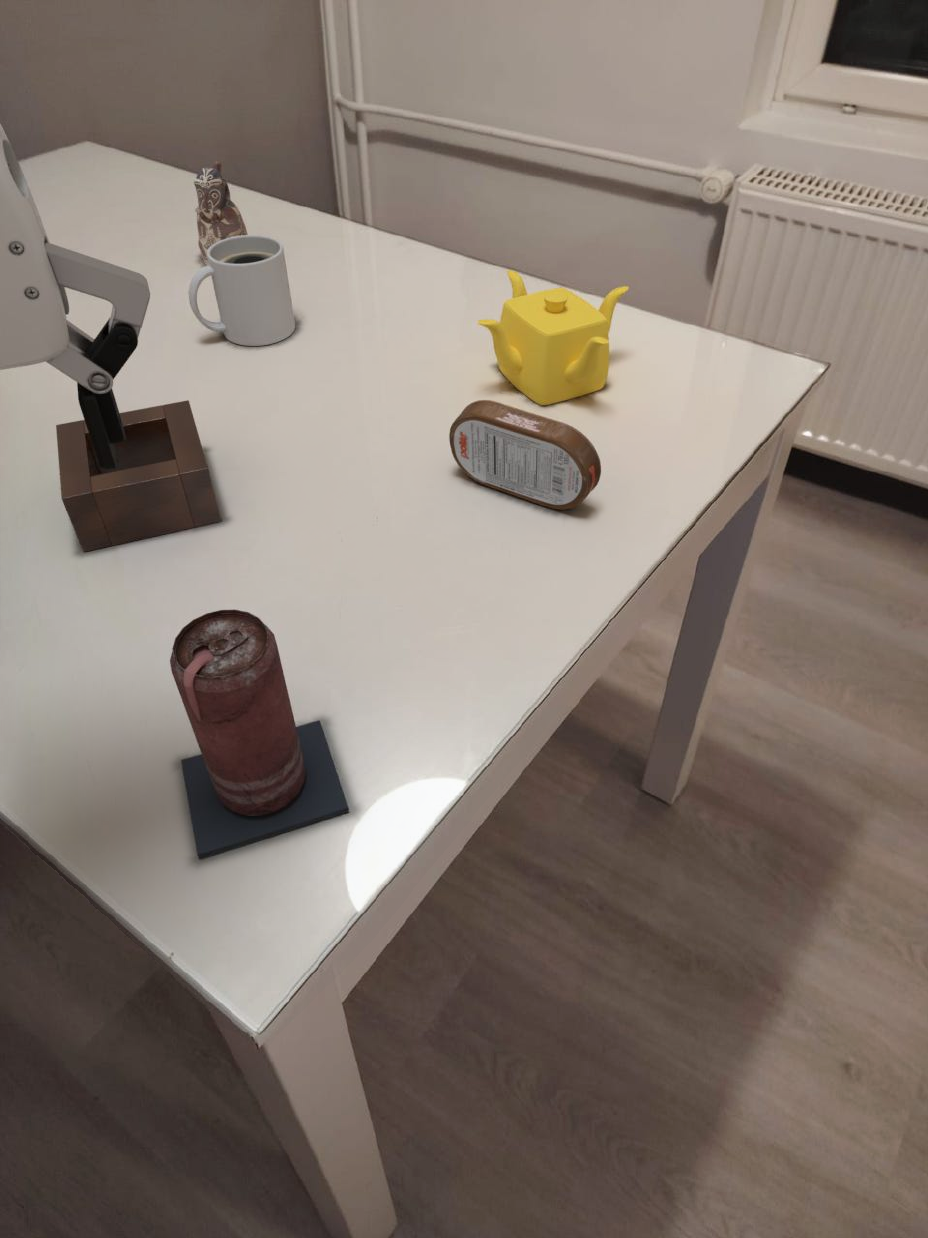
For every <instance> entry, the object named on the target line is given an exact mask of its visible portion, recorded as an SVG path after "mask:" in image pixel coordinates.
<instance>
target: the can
mask: <svg viewBox="0 0 928 1238" xmlns="http://www.w3.org/2000/svg"><path fill="white" fill-rule="evenodd" d="M171 650H172V651H171V655H170V658H169V665H170V670H171V674H172V677H173V680H174V682H175V685H176V688H177V691H178V693H179V696H180V699H181V701H182V705H183V708H184V710H185V712H186V715H187V717H188V720H189V723H190V726H191V729H192V731H193V734H194V738H195V740H196V743H197V745H198V747H199V748H198V749H199V750H200V753H201V754H202V756H203V759H204V762H205V764H206V767H207V770H208V773H209V775H210V778H211V781H212V784H213V786H214V789H215V792H216V794H217V796H218V798H219V799H220V801H221V802H222V804H223V805H224V806H225V807H227V808H228V809H230V810H231V811H233V812H235V813H239V814H243V815H247V816H263V815H267V814H270V813H273V812H276V811H278V810H280V809H281V808H283V807H284V806H286V805H288V804H289V803H290V801H291V800H292V799H293V798H294V797H295V796H296V795H297V794H298V793H299V791H300V789H301V787H302V785H303V783H304V781H305V772H306V769H305V764H304V760H303V755H302V751H301V747H300V742H299V738H298V734H297V729H296V727H297V726H296V721H295V718H294V717H295V716H294V713H293V708H292V704H291V700H290V695H289V690H288V686H287V682H286V677H285V673H284V669H283V665H282V660H281V656H280V652H279V648H278V643H277V640H276V636H275V634H274V633H273V631H272V630H271V629H270V628H269V627H268V626H267V625H266V624H265V623H264V622H263V621H262V619H261V618H260V617H259V616H256V614H255V615H254V614H253V613H251V612H249V611H244V610H239V609H219V610H215V611H211V612H207V613H204V614H202V615H200V616H198V617H196V618H193V619H192V620H191V621H189V622H188V623H187V624H186V625H185V626H183V627H182V628H181V630H180V631H179V632H178V634H177V635H176V636H175V638H174V641H173V645H172V649H171Z"/></svg>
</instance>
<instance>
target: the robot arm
mask: <svg viewBox="0 0 928 1238" xmlns="http://www.w3.org/2000/svg"><path fill="white" fill-rule="evenodd" d="M45 229H46V228H45V226H44V224H43V220H42V218H41V216H40V213H39V210H38V208H37V205H36V202H35V200H34V197H33V195H32V192H31V190H30V187H29V184H28V182H27V179H26V177H25V175H24V172H23V170H22V167H21V165H20V163H19V161H18V157H17V155H16V153H15V152H14V149H13V147H12V144H11V142H10V141H9V138H8V136H7V134H6V132H5V130H4V127H3V126H2V124H1V122H0V371H2V370H9V369H15V368H23V367H28V366H33V365H37V364H42V363H45V362H46V363H47V364H49V365H50V366H51V367H53V368H55V370H58V371H59V372H61V373H62V374H64V375H66V376H67V377H69V378H70V379H71V380H73V381H74V382H76V387H77V388H76V389H77V399H78V405H79V407H80V411H81V414H82V416H83V421H84V420H85V423H86V426H87V429H88V432H89V435H90V438H91V441H92V444H93V447H94V450H95V453H96V456H97V459H98V462H99V465H100V468H104V467H105V470H109V469H115V468H117V466H116V457H115V449H114V443H120V442H126V438H125V432H124V428H123V424H122V420H121V417H120V413H121V412H120V410H119V407H118V404H117V400H116V396H115V394H114V390H113V387H114V379H115V378H116V377H117V376H118V374H119V373H120V371H121V370H122V368H123V367H124V366H125V365H126V363H127V362H128V360H129V359H130V357H131V356H132V355H133V353H134V352H135V351H136V349H137V347H138V345H139V340H138V339H139V336H140V332H141V330H142V328H143V324H144V321H145V318H146V314H147V310H148V307H149V303H150V299H151V291H150V287H149V283H148V279H147V278H146V277H145V276H144V274H141V273H140V272H136V271H134V270H132V269H131V270H130V269H127V268H126V267H125V268H124V267H122V266H119V265H116V264H113V263H110V262H107V261H105V260H104V261H103V260H101V259H98V258H95V257H93V256H89V255H86V254H83V253H80V252H77V251H74V250H72V249H68V248H66V247H63V246H59V245H57V244H54V243H51V242H50V240H49V237H48V235H47V232H46V230H45ZM66 288H67V289H70V290H72V291H75V292H79V293H82V294H86V295H89V296H92V297H94V298H98V299H101V300H105V301H106V302H109V303H110V304H111V305H112V308H111V313H110V316H109V318H108V319H107V321H106V322H105V324H104V325H103V326H102V328H101V329H100V330H99V332H98V333H97V335H96V336H95V338H93V337H92V336H91V335H89V334H88V333H86V332H85V331H83V330H82V329H80V328H79V327H77V326H76V325H75V324H74V323H72V322H70V321H69V320H68V319H67V316H68V315H69V314H70V305H69V299H68V296H67V291H66Z"/></svg>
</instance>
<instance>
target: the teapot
mask: <svg viewBox="0 0 928 1238" xmlns="http://www.w3.org/2000/svg"><path fill="white" fill-rule="evenodd" d="M506 272H507V276H508V278H509V281H510V284H511V289H512V290H511V292H512V298H509V299H506V300H505V301H504V302H503V305H502V309H501V314H500V319H499V321H498V320H495V319H492V318H491V319H490V318H489V319H488V318H487V319H480V320H478V321H476V322H477V324H478V325H480V326H482V327H484V328H487V329H488V331H489V332H490V334H491V337H492V343H493V351H494V354H495V357H496V361H497V366H498V369H499V370H500V372H501V373H502V374H503V375H504V377H505V378H506V380H508V381H509V382H510V383H511V384H512V385H513V386H514V387H515V388H516V389H517V390H518V391H520V392H521V393H522V394H523V395H524V396H526V397H527V398H528V399H530V400H531V401H533V402H534V403H536V404H538V405H540V406H550V405H552V404H556V403H560V402H564V401H567V400H571V399H574V398H578V397H582V396H584V395H589V394H591V393H595V392H598V391H600V390H602V389H604V387H605V384H606V381H607V379H608V376H609V366H610V337H609V333H610V330H611V325H612V320H613V315H614V311H615V308H616V306H617V303H618V301H619V300H620V299H621V297H622V296H623V295H625V294H626V292H628V290H629V289H630V288H629V286H625V285H624V286H620V287H616V288H614V289H612V290H611V291H610V292H609V293H607V295H606V296H605V297H604V299H603V300H602V302H601V304H600V305H599V308H598V309H597V308H596V307H595V306H593V305H592V304H591V303H590V302H588V301H587V300H585V299H584V298H583V297H581V296H579V295H578V294H576V293H574V292H573V291H571V290H569V289H567V288H564V287H562V286H561V287H556V288H550V289H546V290H542V291H537V292H533V293H528V292H527V288H526V286H525V283H524V281H523V279H522V277H521V275H520V274H519V273H518V272H517V271H515V270H511V269H508V270H507V271H506Z"/></svg>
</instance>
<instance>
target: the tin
mask: <svg viewBox="0 0 928 1238" xmlns="http://www.w3.org/2000/svg"><path fill="white" fill-rule="evenodd" d="M448 435H449V436H448V441H449V446H450V450H451V455H452V457H453V459H454V461H455V463H456V464H457V465H458V467H459V468H460V469H461V470H462V471H463V472H464V473H465V474H466V475H467V476H468V477H470V478H471V479H472V480H474V481H475V482H476V483H479V484H480V485H483V486H486V487H488V488H492V489H494V490H497V491H500V492H503V493H506V494H509V495H511V496H514V497H518V498H521V499H523V500H526V501H529V502H531V503H535V504H537V505H540V506H543V507H545V508H549V509H553V510H569V509H573V508H575V507H577V506H578V505H580V504H581V503H582V502H583V501H584V500H585V499H586V498H587V497H588V496H589V494H591V492H593V490H594V489H596V487H597V486H598V484H599V482H600V479H601V474H602V464H601V463H602V462H601V460H600V459H601V458H600V456H599V454H598V451H597V450H596V448H595V446H594V444H593V443H592V442H591V441H590V440H589V438H587V437H586V435H584V434H583V432H581V431H580V430H578V429H577V428H575V427H573V426H572V425H569V424H568V423H565V422H563V421H558V420H555V419H553V418H549V417H546V416H544V415H540V414H536V413H533V412H530V411H527V410H523V409H519V408H517V407H513V406H511V405H508V404H504V403H501V402H498V401H495V400H491V399H479V400H475V401H473V402H470V403H469V404H468V405H466V406H465V407H464V408H463V409H462V412H460V414H458V416H457V417H456V418H455V420H454V421H453V422H452V424H451V426H450V429H449V434H448Z"/></svg>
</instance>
